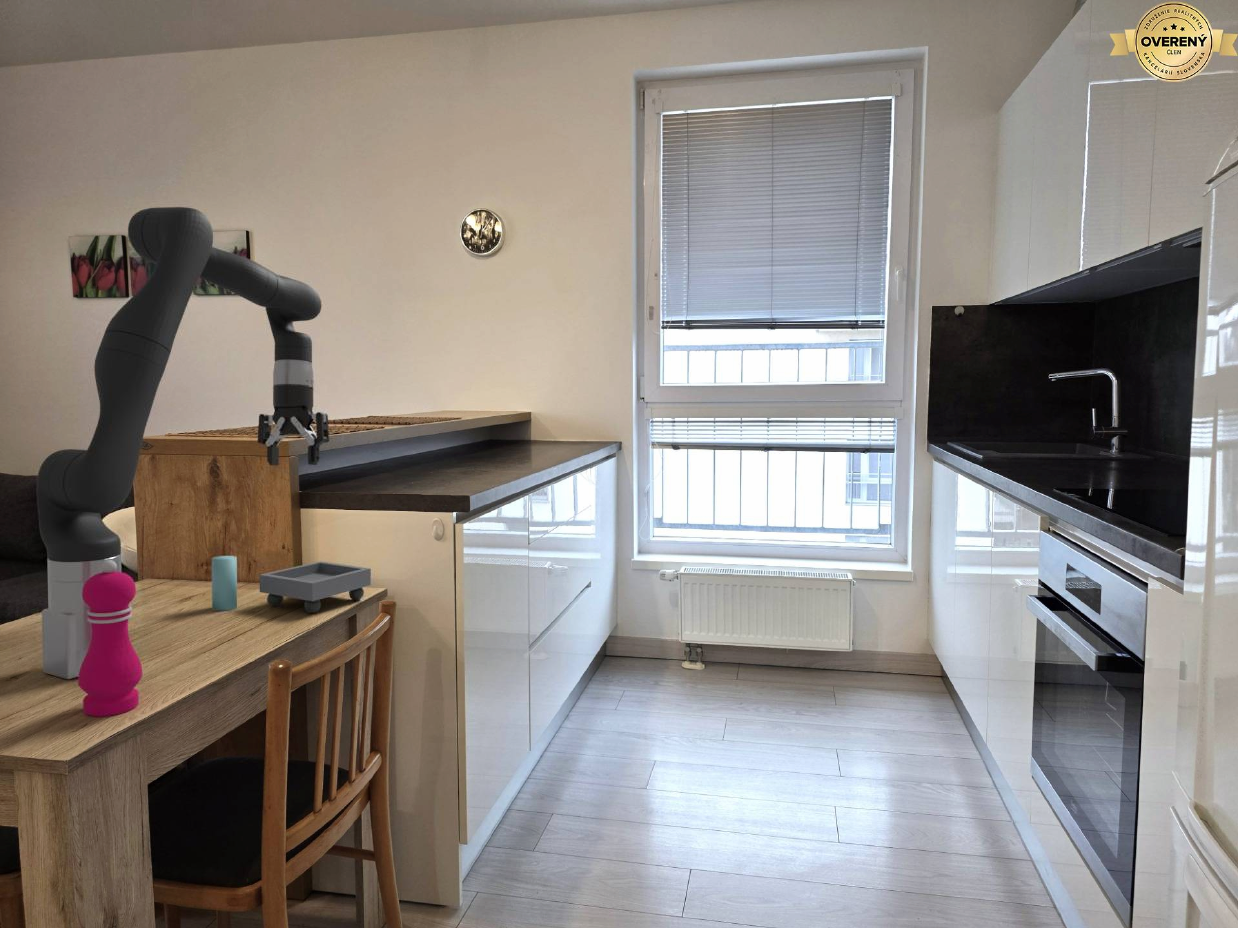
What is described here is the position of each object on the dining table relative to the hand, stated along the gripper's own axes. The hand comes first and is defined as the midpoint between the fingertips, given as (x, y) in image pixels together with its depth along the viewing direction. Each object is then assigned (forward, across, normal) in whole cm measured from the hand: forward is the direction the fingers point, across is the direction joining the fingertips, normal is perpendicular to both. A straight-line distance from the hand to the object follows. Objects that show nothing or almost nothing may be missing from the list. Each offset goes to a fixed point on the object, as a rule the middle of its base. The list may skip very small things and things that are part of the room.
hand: (293, 465), depth 160 cm
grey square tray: (+28, +2, +5) cm, 29 cm away
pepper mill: (+34, +6, -52) cm, 62 cm away
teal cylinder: (+28, -12, -4) cm, 31 cm away
